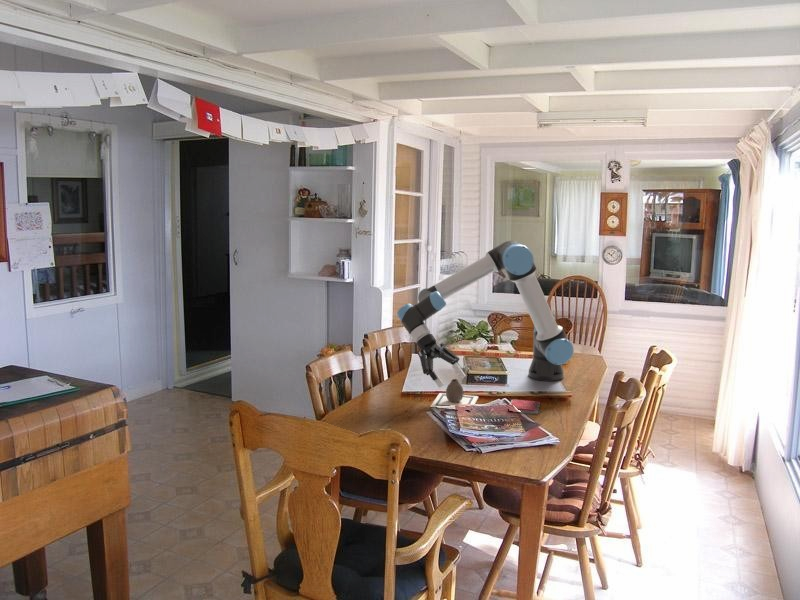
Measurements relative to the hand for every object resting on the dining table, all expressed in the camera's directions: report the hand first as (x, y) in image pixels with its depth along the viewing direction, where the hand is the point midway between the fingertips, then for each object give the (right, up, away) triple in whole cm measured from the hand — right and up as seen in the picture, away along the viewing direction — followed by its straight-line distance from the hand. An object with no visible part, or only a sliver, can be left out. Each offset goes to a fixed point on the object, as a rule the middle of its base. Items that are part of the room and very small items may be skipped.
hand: (452, 381), depth 269 cm
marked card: (+1, -8, +2) cm, 9 cm away
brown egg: (+1, -8, +2) cm, 8 cm away
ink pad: (+27, -10, -5) cm, 29 cm away
